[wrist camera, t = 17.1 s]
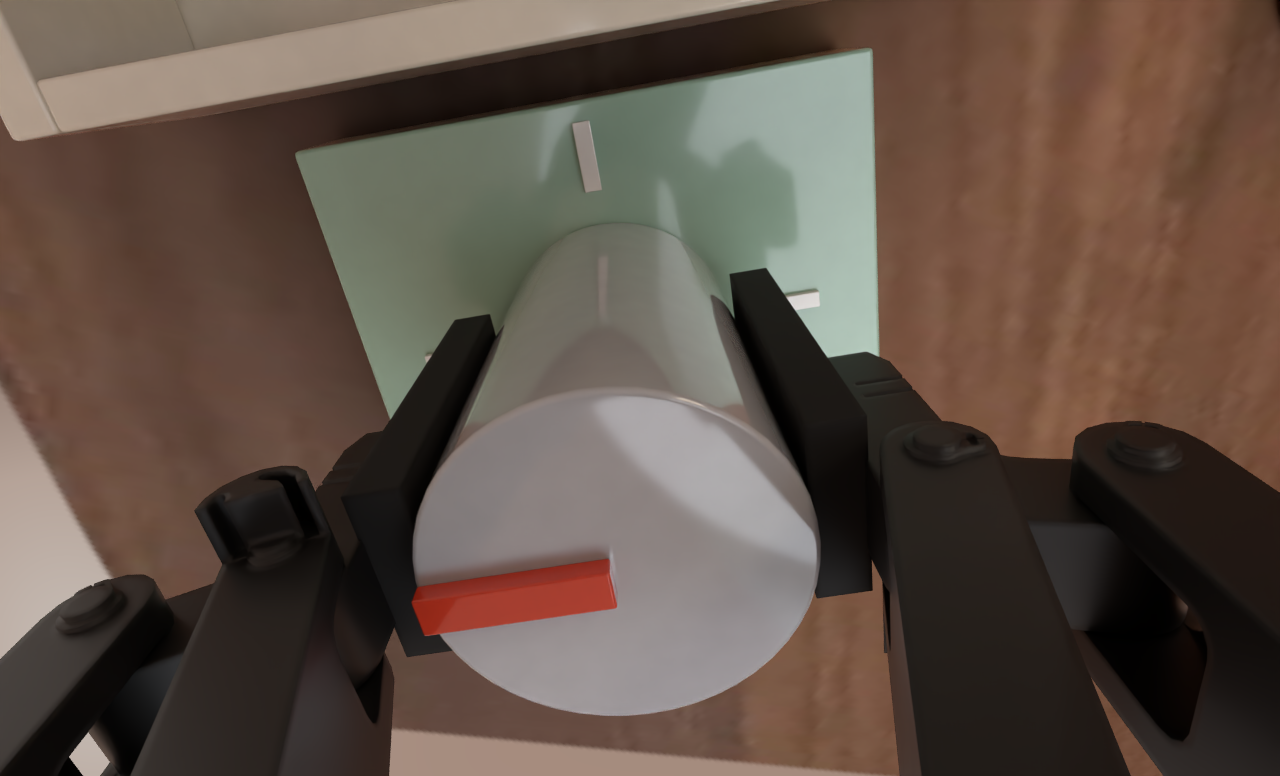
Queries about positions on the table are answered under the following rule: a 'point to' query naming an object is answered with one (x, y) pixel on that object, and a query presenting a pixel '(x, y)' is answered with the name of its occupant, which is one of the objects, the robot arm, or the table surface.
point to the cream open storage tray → (281, 49)
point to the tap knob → (616, 491)
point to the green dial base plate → (611, 199)
